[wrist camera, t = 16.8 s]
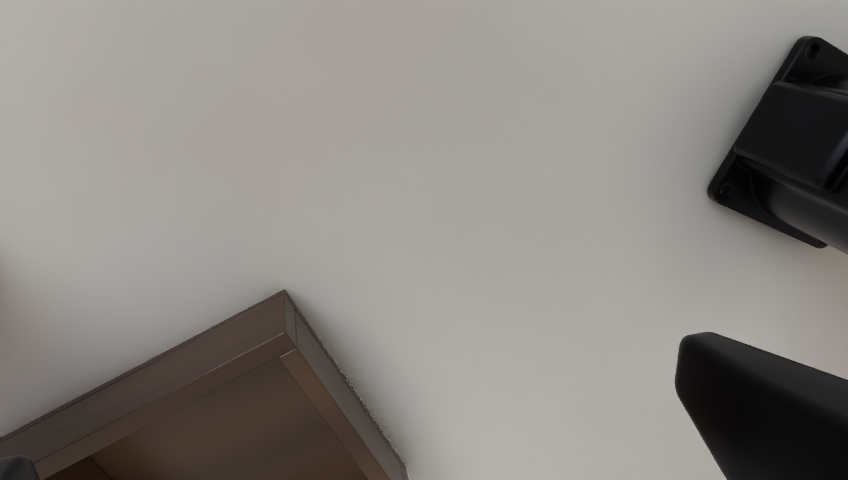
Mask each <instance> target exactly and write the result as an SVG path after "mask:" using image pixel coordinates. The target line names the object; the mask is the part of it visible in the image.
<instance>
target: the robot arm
mask: <svg viewBox="0 0 848 480" xmlns="http://www.w3.org/2000/svg"><path fill="white" fill-rule="evenodd" d="M809 47H810V49H811V50H810V52H809V54H808V55H807V56H806V52H807V49H808V48H809ZM724 186H725V190H724V191H723V192H722V193H721V194H720V191H721V189H722V188H723V187H724ZM707 194H708V196H709V198H710V199H712V200H713V201H715V202H717V203H719V204H721V205H723V206H725V207H728V208H730V209H732V210H734V211H736V212H739V213H741V214H743V215H745V216H748V217H750V218H752V219H754V220H756V221H759V222H761V223H763V224H765V225H767V226H770V227H772V228H774V229H776V230H778V231H781V232H783V233H785V234H787V235H790V236H792V237H794V238H796V239H798V240H801V241H803V242H805V243H807V244H809V245H812V246H814V247H816V248H824V247H826V246H827V245H830V246H832V247H834V248H836V249H838V250H840V251H842V252H844V253H846V254H848V55H847V54H846V53H844V52H842V51H841V50H839V49H838V48H836V47H834V46H833V45H831V44H830V43H828V42H826V41H825V40H823V39H822V38H819V37H813V36H805V37H802V38H801V39H799V40H798V41H797V42H796V43H795V45H794V46H793V48H792V50H791V51H790V53H789V54H788V56H787V58H786V59H785V61H784V63H783V64H782V66H781V68H780V69H779V71H778V72H777V74H776V76H775V77H774V79H773V81H772V82H771V84H770V86H769V87H768V89H767V91H766V92H765V94H764V95H763V97H762V99H761V100H760V102H759V104H758V105H757V107H756V109H755V110H754V112H753V113H752V115H751V117H750V118H749V120H748V122H747V123H746V125H745V127H744V128H743V130H742V131H741V133H740V135H739V136H738V138H737V140H736V141H735V143H734V145H733V146H732V148H731V150H730V151H729V153H728V154H727V156H726V158H725V159H724V161H723V163H722V164H721V166H720V168H719V169H718V171H717V172H716V174H715V176H714V177H713V179H712V181H711V182H710V184H709V186H708V191H707ZM675 388H676V392H677V394H678V397H679V399H680V401H681V402H682V404H683V406H684V407H685V409H686V411H687V413H688V414H689V416H690V418H691V419H692V421H693V423H694V425H695V426H696V428H697V430H698V431H699V433H700V435H701V437H702V438H703V440H704V442H705V443H706V445H707V447H708V449H709V450H710V452H711V454H712V455H713V457H714V459H715V461H716V462H717V464H718V466H719V467H720V469H721V471H722V472H723V474H724V476H725V477H726V479H727V480H848V380H846V379H843V378H840V377H838V376H835V375H832V374H829V373H826V372H823V371H821V370H818V369H815V368H812V367H809V366H806V365H804V364H801V363H798V362H795V361H792V360H789V359H787V358H784V357H781V356H778V355H775V354H773V353H770V352H767V351H764V350H761V349H758V348H756V347H753V346H750V345H747V344H744V343H741V342H739V341H736V340H733V339H730V338H727V337H724V336H722V335H719V334H716V333H713V332H703V333H697V334H692V335H687V336H685V337H684V338H683V339H682V340H681V342H680V346H679V353H678V361H677V368H676V375H675ZM0 480H40V478H39V475H38V473H37V471H36V468H35V466H34V463H33V462H32V460H31V459H30V458H29V457H28V456H25V455H16V456H10V457H5V458H0Z"/></svg>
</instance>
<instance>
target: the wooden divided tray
mask: <svg viewBox="0 0 848 480" xmlns="http://www.w3.org/2000/svg"><path fill="white" fill-rule="evenodd" d="M16 455H25V456H28V457H29V458H30V459H31V460H32V462H33V463H34V466H35V468H36V471H37V473H38V475H39V478H40V480H408V476H407V471H406V467H405V466H404V464H403V463H402V461H401V460H400V458H399V457H398V455H397V454H396V452H395V451H394V449H393V448H392V447H391V445H390V444H389V442H388V441H387V439H386V438H385V436H384V435H383V433H382V432H381V430H380V429H379V427H378V426H377V425H376V423H375V422H374V420H373V419H372V417H371V416H370V414H369V413H368V411H367V410H366V408H365V407H364V405H363V404H362V403H361V401H360V400H359V398H358V397H357V395H356V394H355V392H354V391H353V389H352V388H351V386H350V385H349V383H348V382H347V381H346V379H345V378H344V376H343V375H342V373H341V372H340V370H339V369H338V367H337V366H336V364H335V363H334V361H333V360H332V359H331V357H330V356H329V354H328V353H327V351H326V350H325V348H324V347H323V345H322V344H321V342H320V341H319V339H318V338H317V336H316V335H315V334H314V332H313V331H312V329H311V328H310V326H309V325H308V323H307V322H306V320H305V319H304V317H303V316H302V314H301V313H300V312H299V310H298V309H297V307H296V306H295V304H294V303H293V301H292V300H291V298H290V297H289V295H288V294H287V292H286V291H285V290H283V291H281V292H279V293H277V294H275V295H273V296H271V297H270V298H268V299H266V300H264V301H262V302H260V303H258V304H256V305H254V306H252V307H250V308H249V309H247V310H245V311H243V312H241V313H239V314H237V315H235V316H233V317H231V318H230V319H228V320H226V321H224V322H222V323H220V324H218V325H216V326H214V327H212V328H210V329H209V330H207V331H205V332H203V333H201V334H199V335H197V336H195V337H193V338H191V339H189V340H188V341H186V342H184V343H182V344H180V345H178V346H176V347H174V348H172V349H170V350H169V351H167V352H165V353H163V354H161V355H159V356H157V357H155V358H153V359H151V360H149V361H148V362H146V363H144V364H142V365H140V366H138V367H136V368H134V369H132V370H130V371H128V372H127V373H125V374H123V375H121V376H119V377H117V378H115V379H113V380H111V381H109V382H108V383H106V384H104V385H102V386H100V387H98V388H96V389H94V390H92V391H90V392H88V393H87V394H85V395H83V396H81V397H79V398H77V399H75V400H73V401H71V402H69V403H67V404H66V405H64V406H62V407H60V408H58V409H56V410H54V411H52V412H50V413H48V414H47V415H45V416H43V417H41V418H39V419H37V420H35V421H33V422H31V423H29V424H27V425H26V426H24V427H22V428H20V429H18V430H16V431H14V432H12V433H10V434H8V435H6V436H5V437H3V438H1V439H0V458H5V457H10V456H16Z"/></svg>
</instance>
